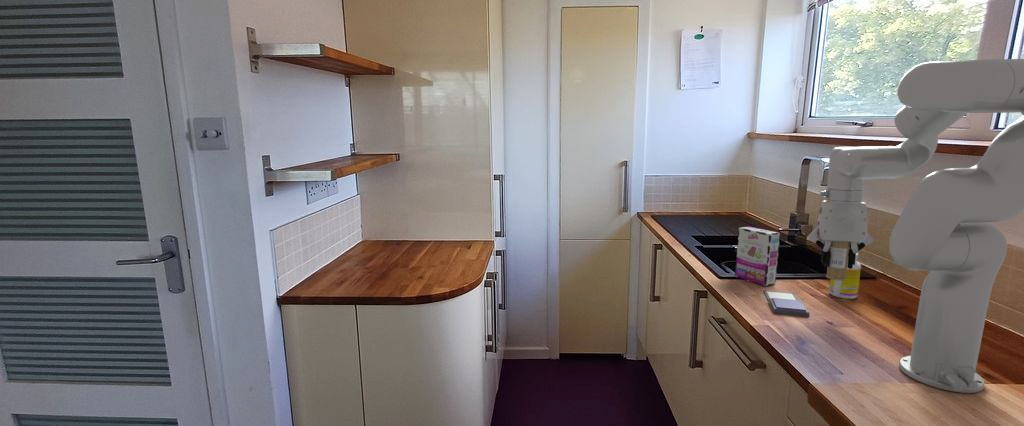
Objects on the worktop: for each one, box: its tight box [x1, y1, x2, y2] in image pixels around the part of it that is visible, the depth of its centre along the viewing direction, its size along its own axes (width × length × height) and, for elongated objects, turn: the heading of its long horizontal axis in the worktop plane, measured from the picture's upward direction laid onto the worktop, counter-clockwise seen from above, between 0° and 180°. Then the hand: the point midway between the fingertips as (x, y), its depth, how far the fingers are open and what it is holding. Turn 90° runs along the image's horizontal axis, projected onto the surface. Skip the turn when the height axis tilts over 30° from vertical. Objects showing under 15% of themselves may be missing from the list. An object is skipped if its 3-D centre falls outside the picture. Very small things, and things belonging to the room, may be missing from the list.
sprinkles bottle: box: [825, 241, 850, 281], centre depth 123 cm, size 5×5×14 cm
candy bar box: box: [734, 226, 781, 287], centre depth 150 cm, size 11×5×16 cm, turn 27°
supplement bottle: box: [829, 252, 862, 300], centre depth 137 cm, size 7×7×13 cm
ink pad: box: [768, 298, 811, 318], centre depth 128 cm, size 8×8×2 cm
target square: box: [763, 289, 799, 302], centre depth 137 cm, size 8×8×1 cm
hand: (837, 265), depth 124 cm, fingers closed on sprinkles bottle, 4 cm apart
